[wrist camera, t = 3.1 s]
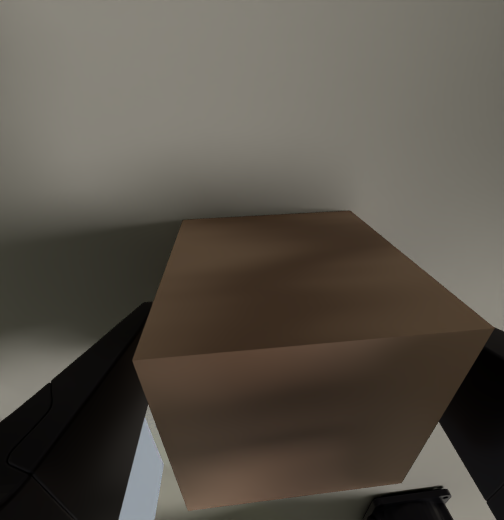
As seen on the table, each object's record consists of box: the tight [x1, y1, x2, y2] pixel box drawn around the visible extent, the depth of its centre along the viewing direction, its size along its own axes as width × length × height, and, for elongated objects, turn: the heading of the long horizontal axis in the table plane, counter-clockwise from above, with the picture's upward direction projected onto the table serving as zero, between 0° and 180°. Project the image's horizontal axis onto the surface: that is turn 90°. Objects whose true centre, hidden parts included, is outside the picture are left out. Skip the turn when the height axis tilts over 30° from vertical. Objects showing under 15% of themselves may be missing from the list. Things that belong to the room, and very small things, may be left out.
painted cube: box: [119, 418, 164, 520], centre depth 12 cm, size 6×6×6 cm
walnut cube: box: [132, 211, 495, 511], centre depth 8 cm, size 6×6×6 cm
